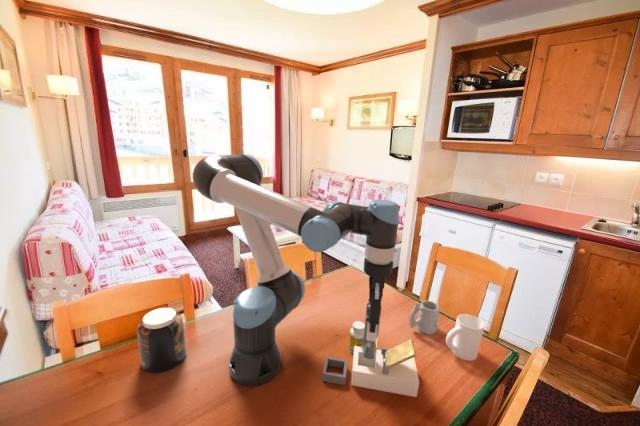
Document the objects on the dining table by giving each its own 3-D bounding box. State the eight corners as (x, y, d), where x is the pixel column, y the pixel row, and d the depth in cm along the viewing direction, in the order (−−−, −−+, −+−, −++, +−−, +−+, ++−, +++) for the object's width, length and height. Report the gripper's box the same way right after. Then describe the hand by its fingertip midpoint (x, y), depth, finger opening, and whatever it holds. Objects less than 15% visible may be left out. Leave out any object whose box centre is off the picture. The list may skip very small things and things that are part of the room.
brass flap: (384, 370, 80) (382, 368, 79) (383, 355, 85) (381, 352, 85) (416, 356, 77) (414, 353, 77) (412, 341, 82) (410, 338, 82)
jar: (152, 380, 78) (146, 335, 74) (135, 359, 85) (128, 316, 81) (193, 356, 88) (189, 314, 83) (174, 339, 94) (170, 299, 90)
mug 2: (435, 346, 97) (441, 316, 94) (464, 341, 100) (471, 312, 97) (451, 364, 90) (458, 332, 86) (482, 358, 93) (490, 327, 89)
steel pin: (361, 357, 81) (366, 309, 77) (362, 348, 85) (366, 301, 80) (376, 360, 80) (381, 311, 76) (375, 350, 84) (381, 302, 80)
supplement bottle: (357, 341, 97) (359, 317, 95) (368, 351, 93) (370, 326, 91) (345, 347, 94) (347, 322, 92) (355, 358, 90) (358, 332, 88)
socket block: (351, 385, 80) (353, 365, 78) (353, 358, 90) (354, 340, 88) (416, 397, 78) (420, 377, 76) (411, 368, 87) (414, 350, 85)
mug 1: (441, 333, 104) (447, 305, 101) (413, 338, 101) (418, 308, 97) (428, 320, 111) (433, 293, 108) (401, 324, 108) (406, 296, 104)
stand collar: (322, 380, 81) (322, 373, 81) (325, 363, 88) (326, 356, 87) (345, 384, 80) (345, 377, 80) (346, 366, 87) (347, 360, 86)
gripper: (396, 275, 66) (386, 358, 72) (391, 248, 82) (383, 318, 88) (363, 271, 67) (356, 353, 73) (365, 245, 83) (358, 314, 89)
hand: (370, 334), depth 81 cm, fingers closed on steel pin, 4 cm apart
